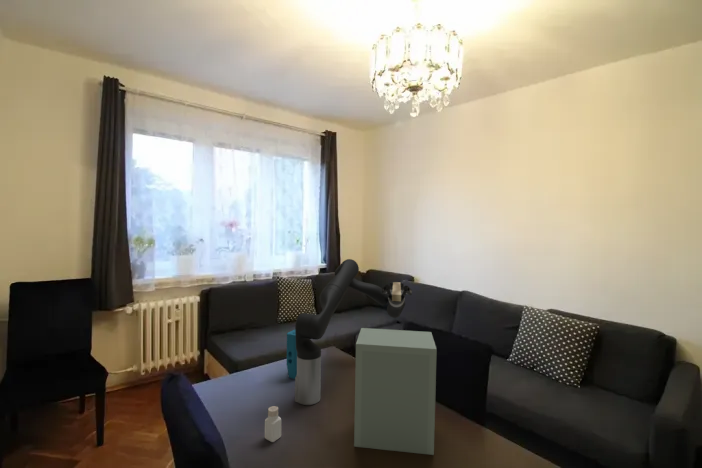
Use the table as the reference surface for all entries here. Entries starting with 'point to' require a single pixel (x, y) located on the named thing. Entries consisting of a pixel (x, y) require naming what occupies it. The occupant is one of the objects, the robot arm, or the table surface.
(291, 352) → the block
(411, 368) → the tall sage green box
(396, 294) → the slat
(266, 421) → the salt shaker
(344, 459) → the table surface
